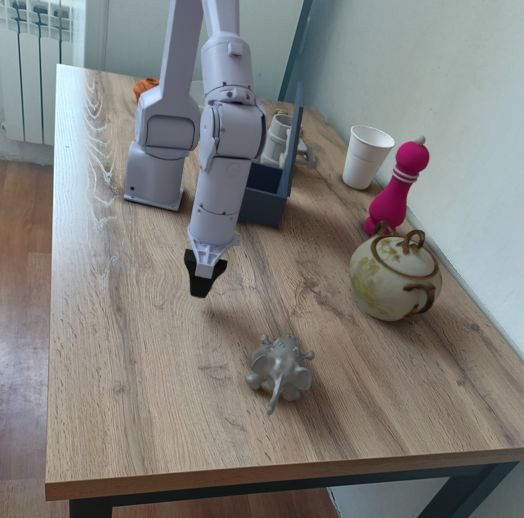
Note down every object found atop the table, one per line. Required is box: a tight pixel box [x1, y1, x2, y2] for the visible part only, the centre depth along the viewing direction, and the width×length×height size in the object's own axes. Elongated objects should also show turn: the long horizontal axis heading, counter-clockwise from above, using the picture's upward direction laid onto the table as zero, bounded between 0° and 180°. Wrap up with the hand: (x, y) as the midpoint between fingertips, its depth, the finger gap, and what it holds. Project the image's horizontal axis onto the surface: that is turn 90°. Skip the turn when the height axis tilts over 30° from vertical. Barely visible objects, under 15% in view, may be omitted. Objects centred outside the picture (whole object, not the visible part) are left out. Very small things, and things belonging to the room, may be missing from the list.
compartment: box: [237, 160, 288, 230], centre depth 100 cm, size 15×12×6 cm
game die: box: [187, 280, 213, 300], centre depth 76 cm, size 4×4×3 cm
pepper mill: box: [363, 134, 431, 237], centre depth 101 cm, size 7×7×20 cm
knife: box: [274, 108, 308, 160], centre depth 129 cm, size 27×2×5 cm
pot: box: [132, 76, 160, 104], centre depth 120 cm, size 8×8×7 cm
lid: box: [286, 81, 316, 198], centre depth 93 cm, size 15×12×4 cm
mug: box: [260, 113, 304, 169], centre depth 112 cm, size 8×12×12 cm, turn 7°
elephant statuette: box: [245, 332, 316, 416], centre depth 67 cm, size 9×12×8 cm
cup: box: [341, 124, 396, 190], centre depth 117 cm, size 10×10×11 cm
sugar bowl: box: [348, 221, 443, 322], centre depth 85 cm, size 20×15×15 cm
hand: (199, 286), depth 76 cm, fingers closed on game die, 3 cm apart
